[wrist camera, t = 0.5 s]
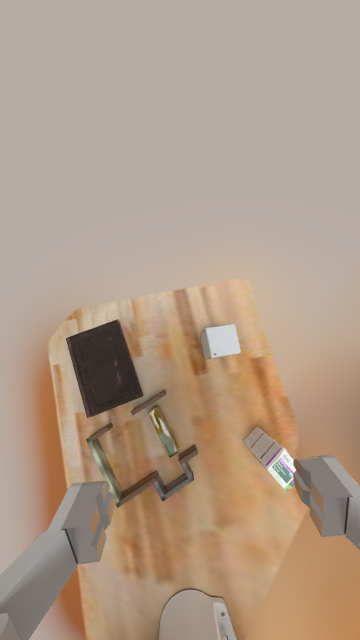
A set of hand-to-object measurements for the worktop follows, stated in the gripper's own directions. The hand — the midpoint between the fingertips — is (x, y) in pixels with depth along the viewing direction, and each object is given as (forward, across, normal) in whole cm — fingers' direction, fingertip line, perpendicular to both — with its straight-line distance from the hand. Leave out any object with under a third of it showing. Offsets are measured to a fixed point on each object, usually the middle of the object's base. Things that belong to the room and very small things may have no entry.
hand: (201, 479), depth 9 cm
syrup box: (+37, +16, -38) cm, 56 cm away
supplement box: (+48, +8, -13) cm, 51 cm away
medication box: (+39, -9, -32) cm, 51 cm away
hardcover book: (+47, -24, -15) cm, 55 cm away
